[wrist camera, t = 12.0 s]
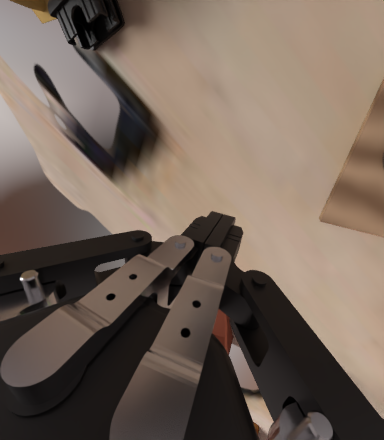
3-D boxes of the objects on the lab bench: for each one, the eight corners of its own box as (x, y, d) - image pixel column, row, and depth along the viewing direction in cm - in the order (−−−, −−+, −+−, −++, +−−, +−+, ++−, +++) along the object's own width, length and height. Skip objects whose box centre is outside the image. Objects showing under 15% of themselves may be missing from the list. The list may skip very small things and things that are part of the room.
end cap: (110, -28, 35) (76, -55, 29) (127, 23, 37) (99, 6, 31) (74, 10, 39) (39, -8, 34) (92, 53, 41) (61, 43, 36)
